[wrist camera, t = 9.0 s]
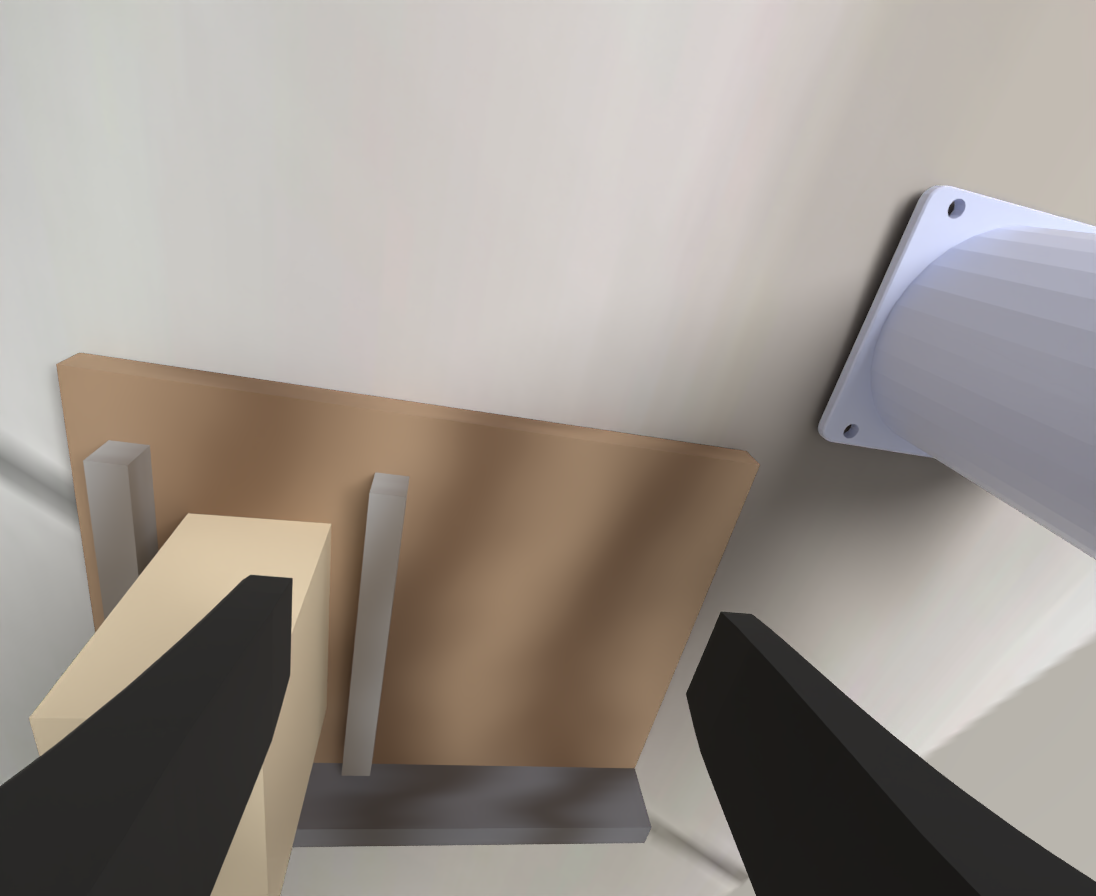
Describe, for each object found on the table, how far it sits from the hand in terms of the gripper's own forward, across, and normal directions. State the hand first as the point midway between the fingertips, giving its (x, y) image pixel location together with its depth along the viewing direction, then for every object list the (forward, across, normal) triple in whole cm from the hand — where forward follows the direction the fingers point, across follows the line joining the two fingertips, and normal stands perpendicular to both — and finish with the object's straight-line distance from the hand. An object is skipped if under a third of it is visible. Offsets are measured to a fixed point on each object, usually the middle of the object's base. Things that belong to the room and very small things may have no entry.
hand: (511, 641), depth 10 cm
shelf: (+9, +1, +8) cm, 12 cm away
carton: (+8, +6, +8) cm, 13 cm away
